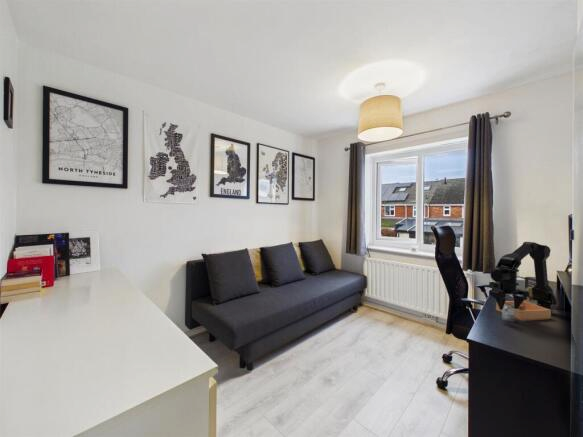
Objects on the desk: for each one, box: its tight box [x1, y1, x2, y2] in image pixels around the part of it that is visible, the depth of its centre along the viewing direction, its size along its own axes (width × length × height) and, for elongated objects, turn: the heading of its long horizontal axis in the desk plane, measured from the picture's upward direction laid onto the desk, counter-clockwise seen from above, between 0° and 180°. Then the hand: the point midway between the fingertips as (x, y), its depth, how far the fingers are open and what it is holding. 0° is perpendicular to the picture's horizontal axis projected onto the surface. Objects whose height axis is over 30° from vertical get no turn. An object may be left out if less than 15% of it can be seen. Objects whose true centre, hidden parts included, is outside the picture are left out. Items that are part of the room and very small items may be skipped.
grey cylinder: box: [501, 305, 516, 323], centre depth 130 cm, size 5×5×7 cm
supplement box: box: [508, 276, 525, 298], centre depth 166 cm, size 7×7×13 cm
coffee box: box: [524, 276, 550, 305], centre depth 153 cm, size 9×6×16 cm
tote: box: [495, 300, 552, 322], centre depth 137 cm, size 18×14×5 cm
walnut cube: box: [508, 303, 525, 311], centre depth 136 cm, size 5×5×5 cm
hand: (508, 309), depth 130 cm, fingers open, 9 cm apart
